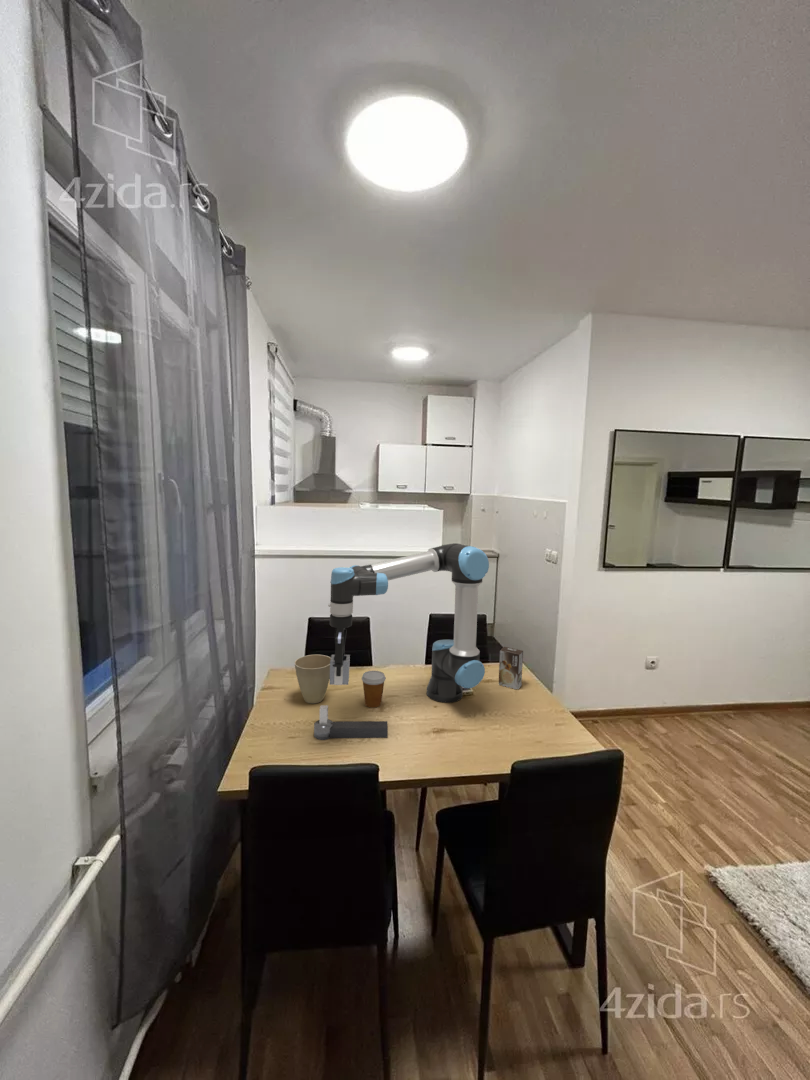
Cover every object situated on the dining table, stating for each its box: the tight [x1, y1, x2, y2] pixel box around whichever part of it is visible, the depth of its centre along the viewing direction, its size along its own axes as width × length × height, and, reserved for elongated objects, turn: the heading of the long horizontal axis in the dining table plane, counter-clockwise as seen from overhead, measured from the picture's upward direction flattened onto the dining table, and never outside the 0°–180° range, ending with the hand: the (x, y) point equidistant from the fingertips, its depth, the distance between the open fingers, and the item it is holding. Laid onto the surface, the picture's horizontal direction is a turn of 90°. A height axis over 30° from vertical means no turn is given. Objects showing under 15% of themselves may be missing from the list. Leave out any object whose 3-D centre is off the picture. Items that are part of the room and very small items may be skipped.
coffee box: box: [497, 646, 524, 690], centre depth 194 cm, size 9×6×16 cm
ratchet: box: [313, 704, 389, 741], centre depth 151 cm, size 25×6×10 cm, turn 94°
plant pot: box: [294, 654, 331, 704], centre depth 175 cm, size 15×15×16 cm
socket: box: [329, 654, 351, 686], centre depth 148 cm, size 6×6×8 cm
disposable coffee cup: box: [361, 670, 386, 709], centre depth 173 cm, size 10×10×12 cm
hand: (339, 679), depth 149 cm, fingers closed on socket, 6 cm apart
